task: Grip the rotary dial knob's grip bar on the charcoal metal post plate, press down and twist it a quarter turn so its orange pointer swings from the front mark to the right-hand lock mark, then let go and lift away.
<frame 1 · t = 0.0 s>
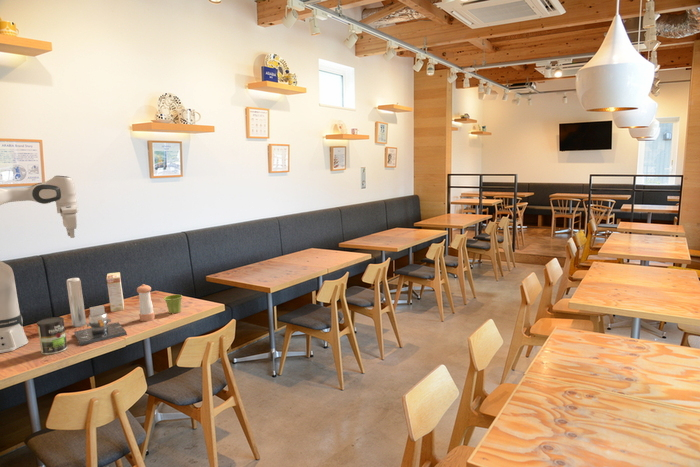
hand: (71, 236, 235), 48 cm above the table, tool pointing down, fingers open, 8 cm apart
pepper shaker: (147, 319, 255), on the table
post plate: (100, 334, 234), on the table
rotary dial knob: (98, 317, 231), point 10 cm above the table, hinge at 0.0°
plant pot: (174, 312, 265), on the table
thermos flask: (79, 325, 250), on the table
coffeecake box: (117, 307, 279), on the table
coffee can: (54, 350, 216), on the table
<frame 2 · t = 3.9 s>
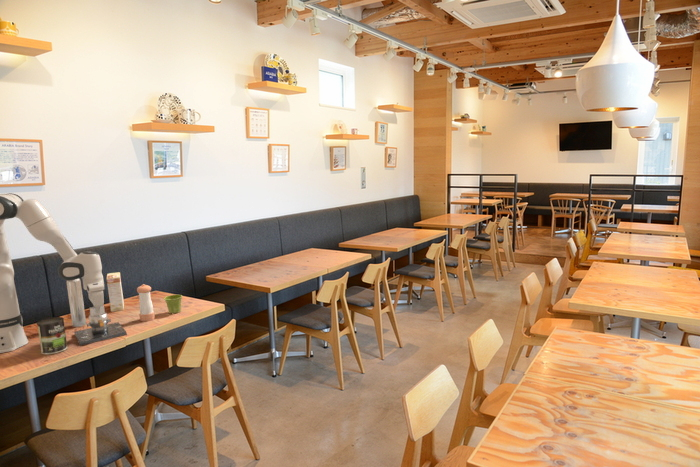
hand: (97, 311, 233), 12 cm above the table, tool pointing down, fingers closed on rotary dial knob, 3 cm apart
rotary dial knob: (98, 317, 231), point 10 cm above the table, hinge at 0.0°, touching gripper
everything else where it was.
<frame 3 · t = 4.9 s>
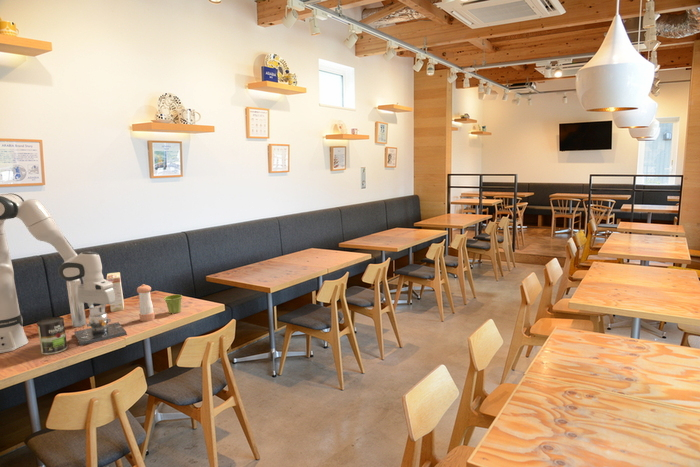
hand: (98, 311, 233), 12 cm above the table, tool pointing down, fingers closed on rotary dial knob, 4 cm apart
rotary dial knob: (99, 316, 231), point 10 cm above the table, hinge at 4.3°, touching gripper
everything else where it was.
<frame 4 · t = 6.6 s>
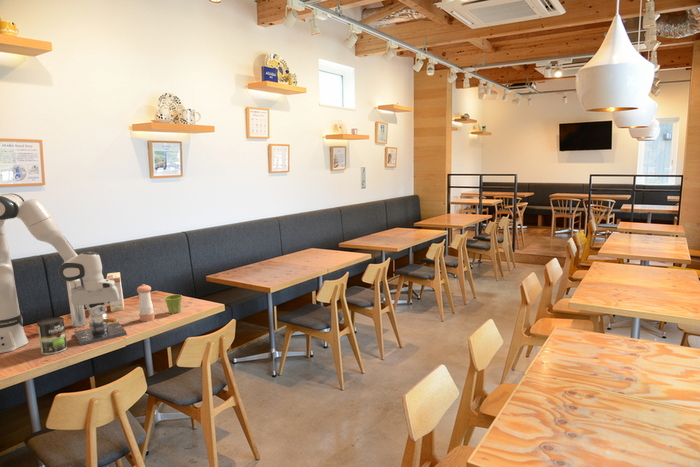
hand: (97, 311, 233), 11 cm above the table, tool pointing down, fingers closed on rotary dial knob, 5 cm apart
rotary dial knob: (102, 315, 232), point 10 cm above the table, hinge at 36.5°, touching gripper
everything else where it was.
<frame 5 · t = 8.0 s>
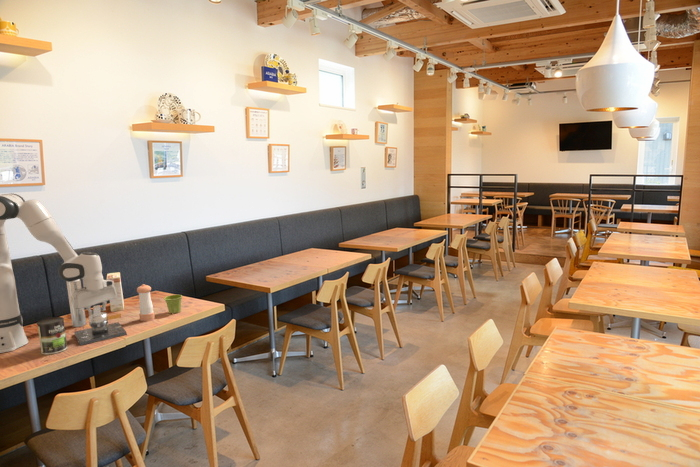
hand: (97, 312, 233), 11 cm above the table, tool pointing down, fingers closed on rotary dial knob, 5 cm apart
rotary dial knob: (104, 314, 234), point 10 cm above the table, hinge at 81.5°, touching gripper
everything else where it was.
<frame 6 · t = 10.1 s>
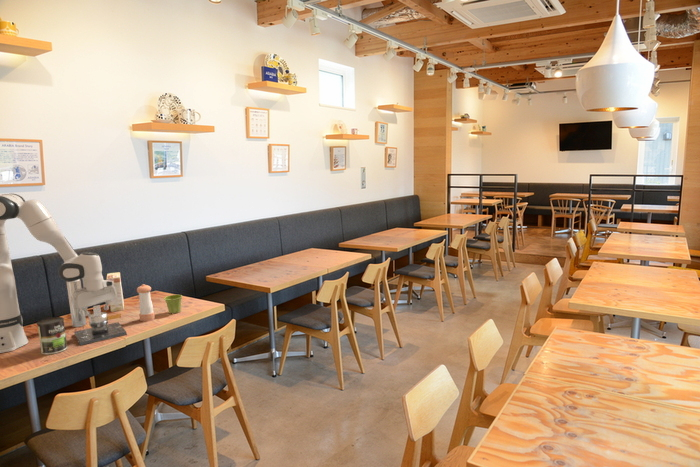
hand: (97, 312, 233), 11 cm above the table, tool pointing down, fingers open, 8 cm apart
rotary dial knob: (104, 314, 234), point 10 cm above the table, hinge at 81.5°
everything else where it was.
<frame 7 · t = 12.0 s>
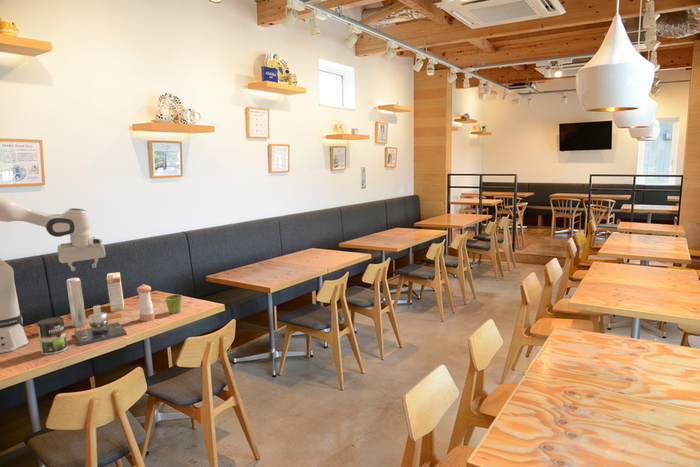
hand: (84, 269, 234), 32 cm above the table, tool pointing down, fingers open, 8 cm apart
nothing on the table moved.
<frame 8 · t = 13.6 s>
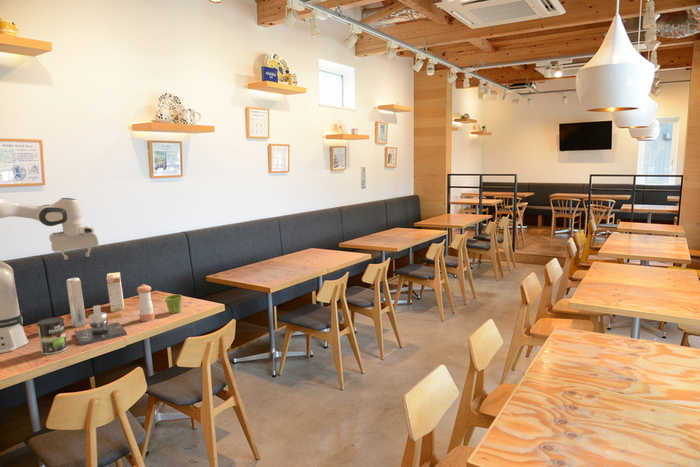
hand: (77, 257, 238), 37 cm above the table, tool pointing down, fingers open, 8 cm apart
nothing on the table moved.
at the end: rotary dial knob at +82° (first picture: +0°); coffee can moved 0.2 cm from its start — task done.
